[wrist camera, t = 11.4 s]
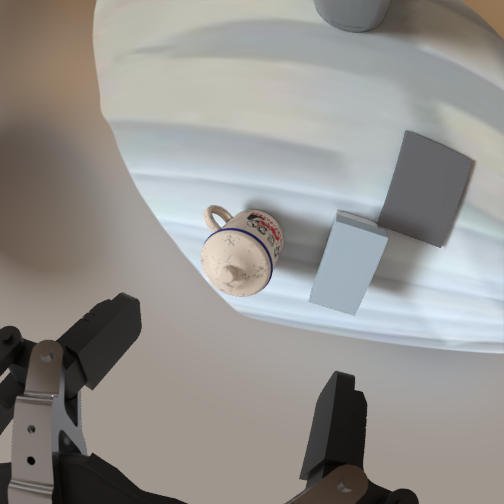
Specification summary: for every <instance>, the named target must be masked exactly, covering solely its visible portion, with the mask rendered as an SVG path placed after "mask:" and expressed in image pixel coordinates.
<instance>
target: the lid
mask: <svg viewBox="0 0 504 504" xmlns="http://www.w3.org/2000/svg"><path fill="white" fill-rule="evenodd" d="M388 239H389V238H388V235H387V232H386V230H385V229H382V228H379V227H376V226H373V225H370V224H367V223H364V222H361V221H358V220H354V219H351V218H348V217H345V216H342V215H339V214H336V217H335V221H334V224H333V227H332V230H331V233H330V237H329V240H328V243H327V246H326V249H325V252H324V255H323V258H322V261H321V264H320V267H319V270H318V273H317V276H316V278H315V281H314V284H313V287H312V290H311V294H310V298H309V302H311V303H314V304H317V305H321V306H324V307H327V308H331V309H334V310H337V311H341V312H344V313H348V314H351V315H354V316H355V314H356V312H357V310H358V308H359V306H360V303H361V301H362V299H363V297H364V295H365V293H366V291H367V288H368V286H369V284H370V282H371V280H372V277H373V275H374V273H375V270H376V268H377V266H378V263H379V261H380V259H381V256H382V254H383V251H384V249H385V246H386V244H387V241H388Z"/></svg>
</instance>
